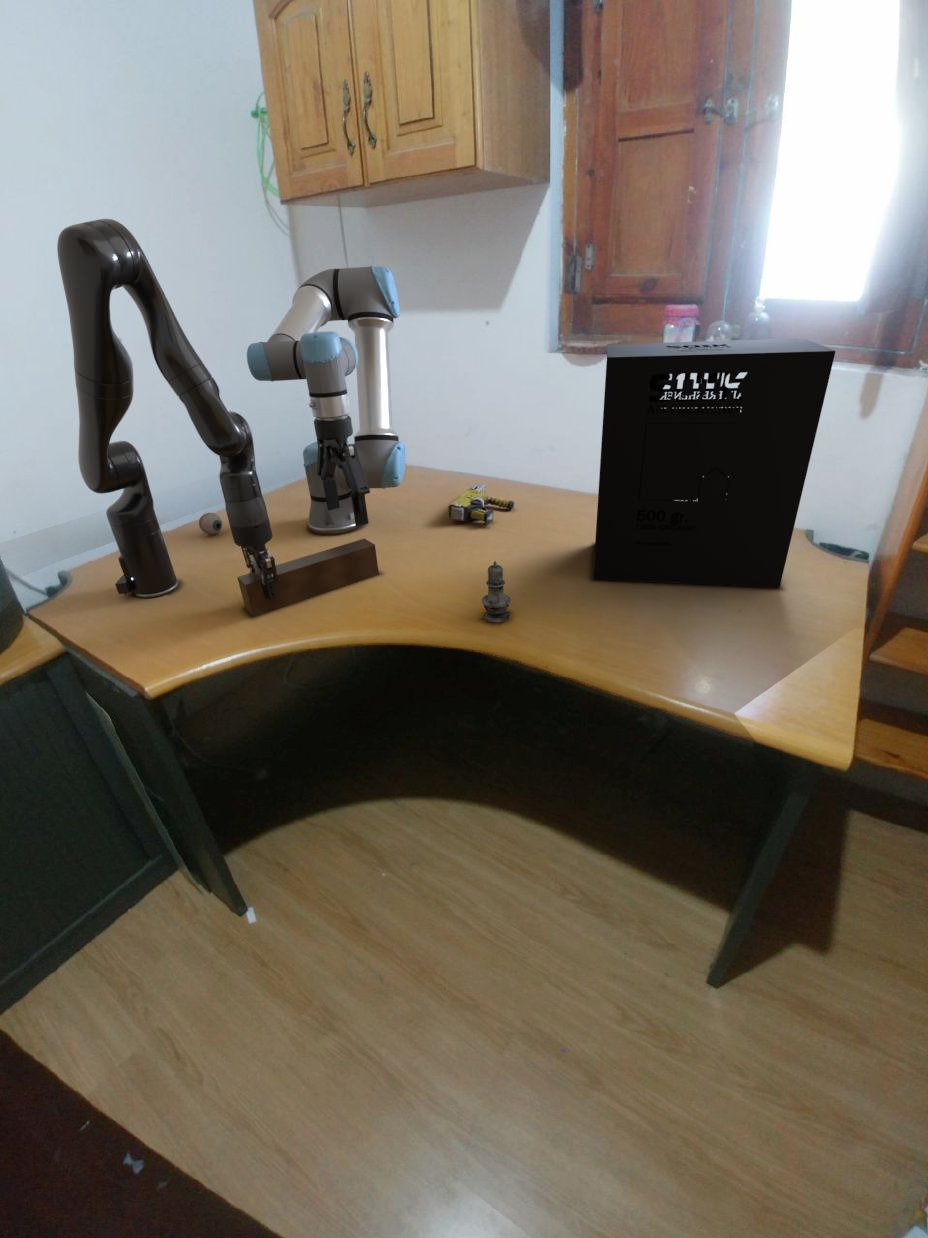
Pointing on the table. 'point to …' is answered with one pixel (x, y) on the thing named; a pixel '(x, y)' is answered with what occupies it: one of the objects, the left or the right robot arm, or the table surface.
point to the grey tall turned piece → (496, 596)
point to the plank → (311, 576)
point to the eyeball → (210, 523)
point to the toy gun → (475, 505)
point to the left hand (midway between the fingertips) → (266, 593)
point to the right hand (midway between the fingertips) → (347, 516)
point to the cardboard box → (706, 459)
